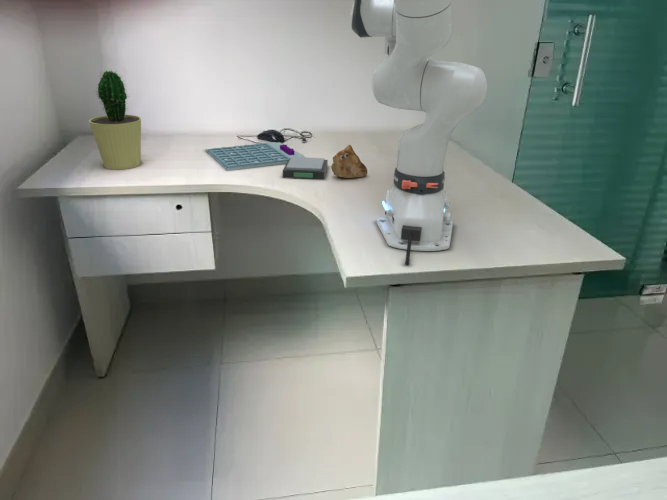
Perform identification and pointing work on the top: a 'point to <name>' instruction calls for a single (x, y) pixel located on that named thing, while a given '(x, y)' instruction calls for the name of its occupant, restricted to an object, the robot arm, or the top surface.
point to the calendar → (253, 155)
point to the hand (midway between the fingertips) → (396, 97)
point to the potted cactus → (116, 126)
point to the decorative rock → (348, 164)
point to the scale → (305, 168)
